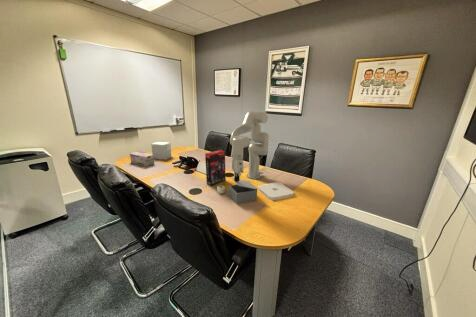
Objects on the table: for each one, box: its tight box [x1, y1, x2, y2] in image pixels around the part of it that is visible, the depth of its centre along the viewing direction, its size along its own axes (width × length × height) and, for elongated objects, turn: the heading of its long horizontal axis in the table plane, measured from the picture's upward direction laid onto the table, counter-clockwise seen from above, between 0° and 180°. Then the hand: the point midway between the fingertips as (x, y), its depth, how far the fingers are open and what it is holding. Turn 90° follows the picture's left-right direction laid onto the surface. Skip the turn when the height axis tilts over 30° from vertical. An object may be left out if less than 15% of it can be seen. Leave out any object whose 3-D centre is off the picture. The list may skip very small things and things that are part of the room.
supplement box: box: [150, 141, 172, 161], centre depth 230 cm, size 17×13×18 cm
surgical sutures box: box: [129, 151, 155, 168], centre depth 210 cm, size 25×11×11 cm, turn 59°
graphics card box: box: [204, 149, 226, 187], centre depth 164 cm, size 17×7×27 cm, turn 138°
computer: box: [257, 181, 295, 201], centre depth 153 cm, size 22×22×3 cm
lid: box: [230, 177, 258, 191], centre depth 140 cm, size 16×14×1 cm
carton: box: [228, 183, 258, 205], centre depth 142 cm, size 16×14×8 cm
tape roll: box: [216, 184, 226, 195], centre depth 150 cm, size 6×6×5 cm
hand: (236, 181), depth 137 cm, fingers closed
